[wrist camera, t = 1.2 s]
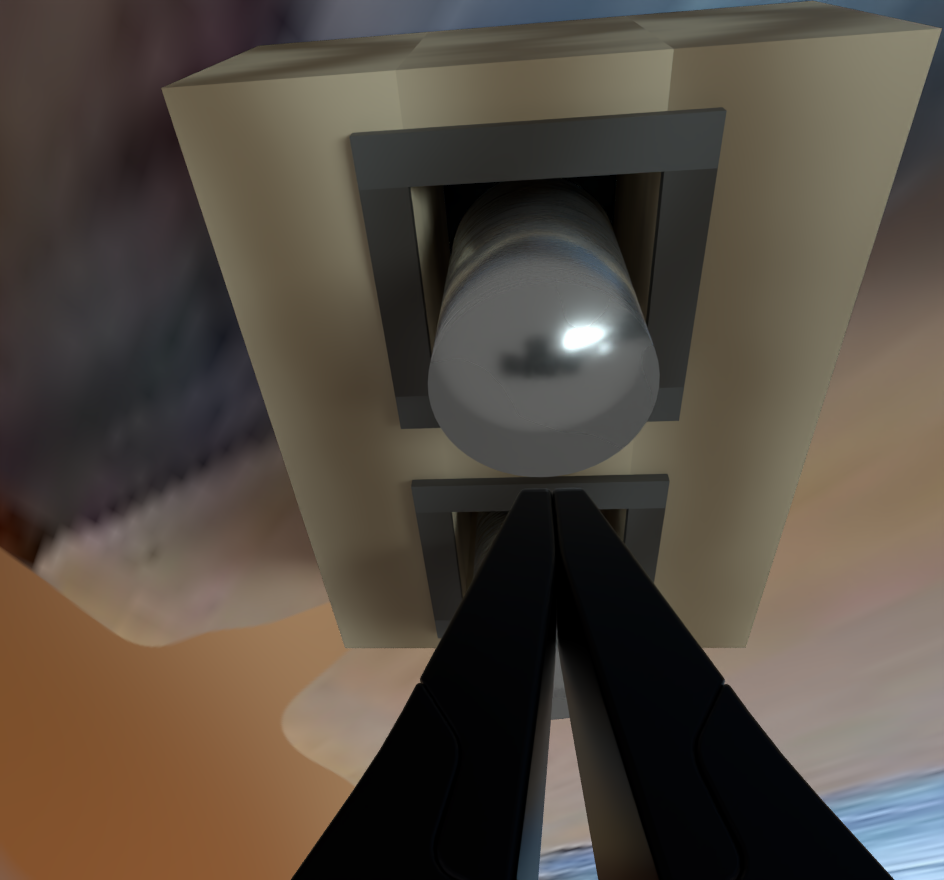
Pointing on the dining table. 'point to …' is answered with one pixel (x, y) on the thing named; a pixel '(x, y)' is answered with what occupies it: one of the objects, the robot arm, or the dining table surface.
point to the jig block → (639, 238)
